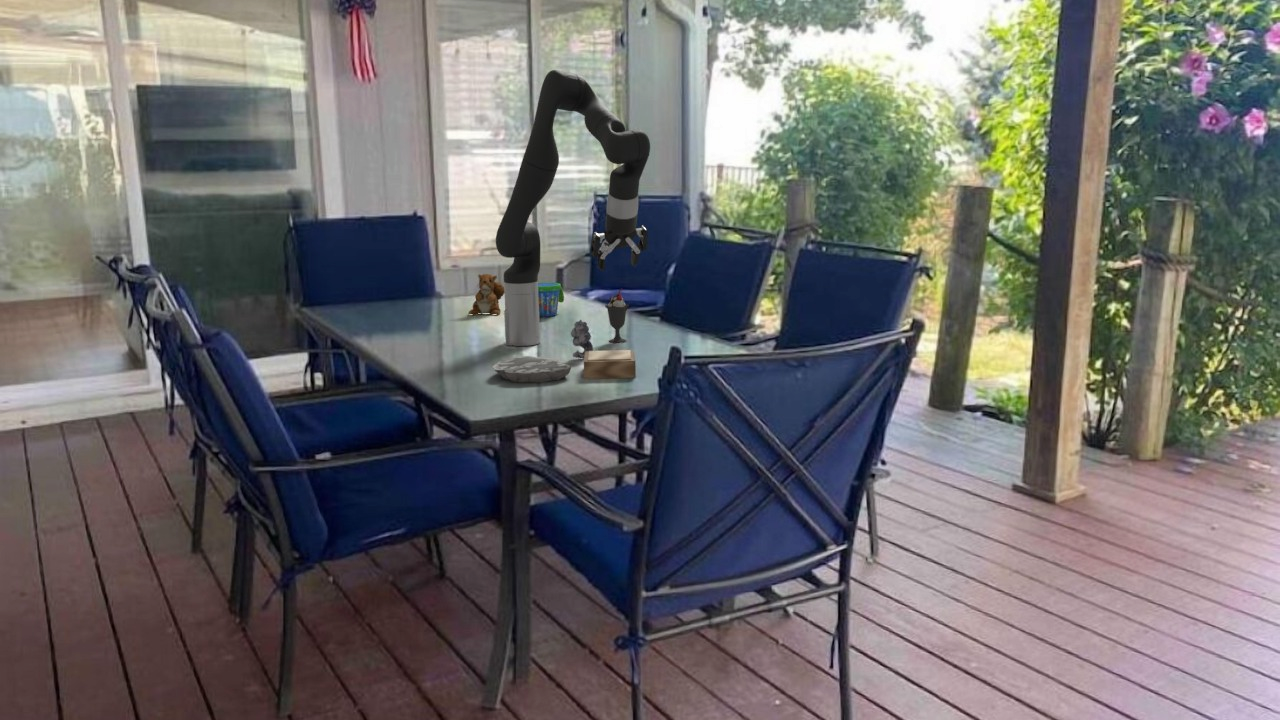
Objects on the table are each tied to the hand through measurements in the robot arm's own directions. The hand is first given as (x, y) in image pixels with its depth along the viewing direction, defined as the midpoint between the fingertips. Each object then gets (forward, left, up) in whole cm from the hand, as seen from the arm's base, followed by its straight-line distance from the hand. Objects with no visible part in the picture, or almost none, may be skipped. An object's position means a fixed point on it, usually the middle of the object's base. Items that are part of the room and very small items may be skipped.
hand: (617, 267), depth 242 cm
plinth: (-2, -17, -23) cm, 29 cm away
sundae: (0, +22, -23) cm, 32 cm away
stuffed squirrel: (-43, +75, -23) cm, 90 cm away
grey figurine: (-9, 0, -23) cm, 25 cm away
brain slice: (-21, -19, -24) cm, 37 cm away
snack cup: (-23, +67, -23) cm, 75 cm away
